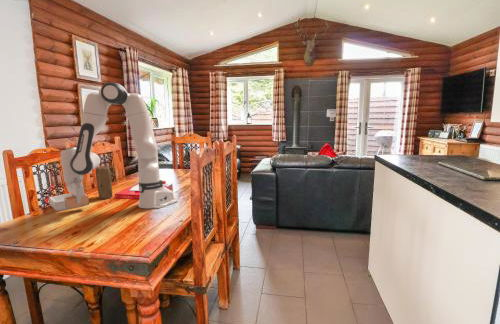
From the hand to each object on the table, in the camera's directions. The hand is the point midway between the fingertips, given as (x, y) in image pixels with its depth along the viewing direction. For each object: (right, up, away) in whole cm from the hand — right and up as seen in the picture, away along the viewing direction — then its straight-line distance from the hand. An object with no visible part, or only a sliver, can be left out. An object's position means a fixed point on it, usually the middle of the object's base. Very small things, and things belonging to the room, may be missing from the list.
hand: (77, 201), depth 149 cm
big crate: (-11, -4, +11) cm, 16 cm away
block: (+2, -1, +26) cm, 26 cm away
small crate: (0, -2, 0) cm, 2 cm away
